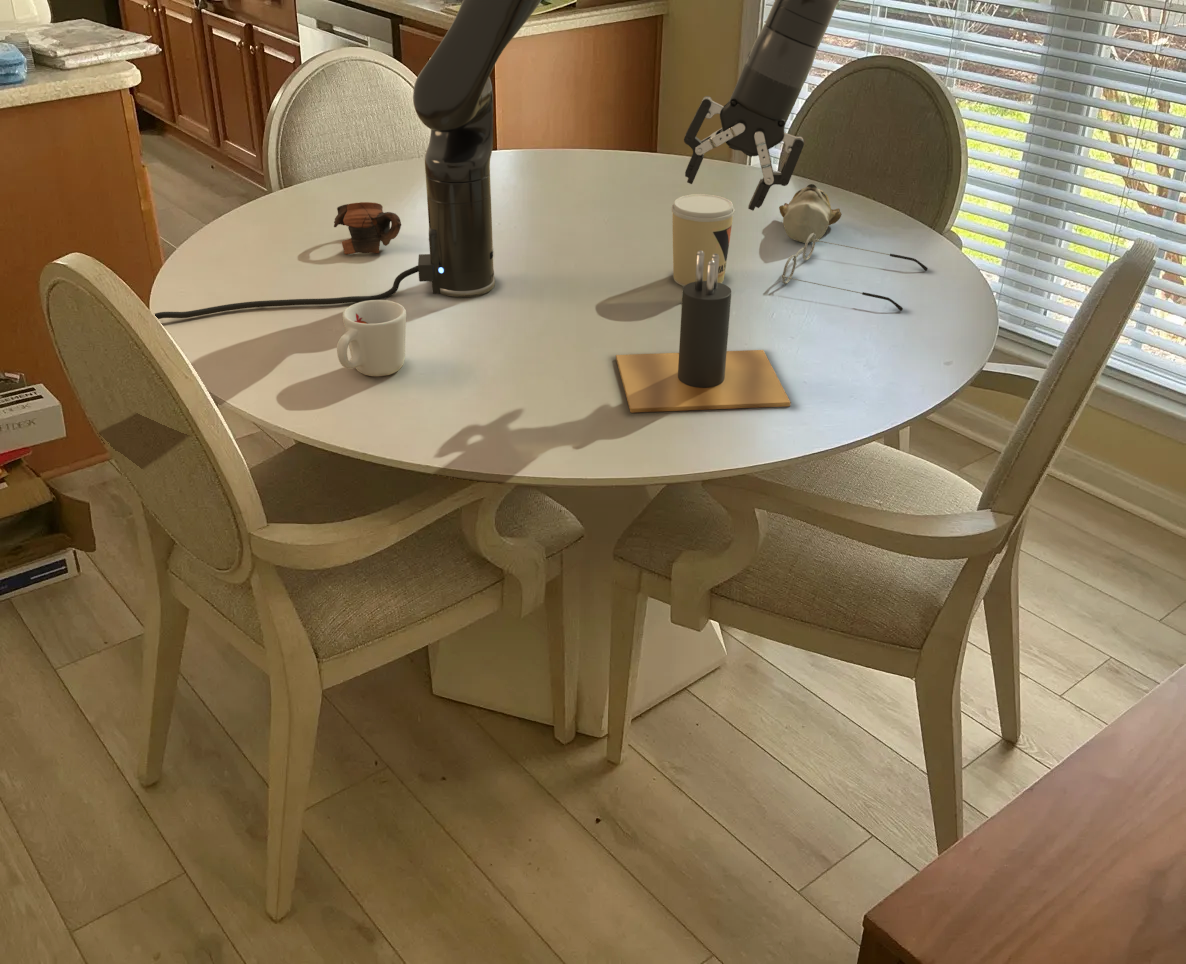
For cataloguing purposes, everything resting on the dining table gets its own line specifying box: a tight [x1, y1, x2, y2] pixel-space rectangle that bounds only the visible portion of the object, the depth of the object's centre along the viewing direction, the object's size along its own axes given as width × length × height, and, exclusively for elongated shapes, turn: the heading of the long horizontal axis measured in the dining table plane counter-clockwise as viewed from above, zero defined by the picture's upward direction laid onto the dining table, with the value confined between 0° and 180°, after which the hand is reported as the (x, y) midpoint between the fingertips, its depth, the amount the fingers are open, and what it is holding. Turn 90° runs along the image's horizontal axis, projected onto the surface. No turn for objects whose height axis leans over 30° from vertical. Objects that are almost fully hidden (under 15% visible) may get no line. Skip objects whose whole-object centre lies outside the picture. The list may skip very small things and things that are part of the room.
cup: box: [336, 299, 407, 377], centre depth 148 cm, size 11×8×8 cm
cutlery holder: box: [678, 250, 732, 388], centre depth 144 cm, size 6×6×17 cm
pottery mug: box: [333, 201, 402, 255], centre depth 187 cm, size 12×10×8 cm
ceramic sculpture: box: [778, 183, 843, 244], centre depth 194 cm, size 11×9×15 cm
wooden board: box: [615, 349, 792, 414], centre depth 149 cm, size 20×15×1 cm
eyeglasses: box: [781, 233, 928, 312], centre depth 178 cm, size 18×19×4 cm
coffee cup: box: [671, 193, 736, 287], centre depth 175 cm, size 9×9×12 cm
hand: (720, 195), depth 148 cm, fingers open, 8 cm apart
